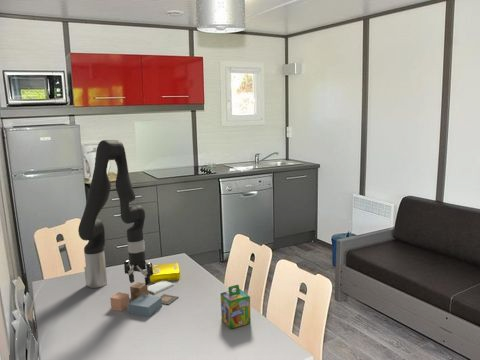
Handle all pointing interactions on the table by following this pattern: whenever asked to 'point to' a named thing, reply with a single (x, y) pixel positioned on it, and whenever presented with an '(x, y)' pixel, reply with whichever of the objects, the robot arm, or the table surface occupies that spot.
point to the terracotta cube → (119, 301)
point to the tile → (168, 299)
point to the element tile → (165, 272)
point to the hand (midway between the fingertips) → (139, 283)
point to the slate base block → (145, 305)
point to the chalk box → (235, 307)
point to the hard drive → (159, 287)
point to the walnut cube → (138, 290)
